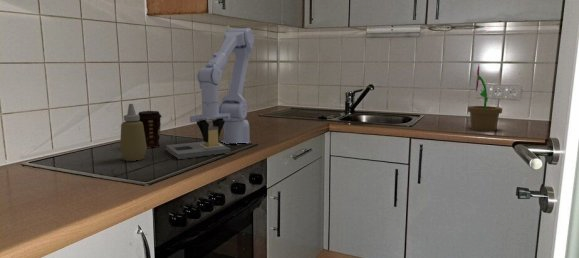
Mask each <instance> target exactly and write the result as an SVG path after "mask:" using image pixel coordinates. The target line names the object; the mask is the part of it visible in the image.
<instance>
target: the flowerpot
mask: <svg viewBox="0 0 579 258" xmlns="http://www.w3.org/2000/svg"><path fill="white" fill-rule="evenodd" d="M475 81H476V84H475V85H476V87H475V91H476V92H478V87H479V81H481V84H482V86H483V90H481V92H480V93H479V95H480V96H481V97H483V98H484V101H483V105H470V106H467V112H469V113H470V114H469V116H470V129H471V130H472V131H476V130H477V131H476V132H495V131H496V129H497V124H498V122H499V121H498V120H499V117H500V114H502V113H503V108H502V107H499V106H490V105H489V106H488V105H487V103H488V93H487V86H486V83H485V80H484V78H482V76H481V75H480V64H478V66H477V70H476V80H475Z"/></svg>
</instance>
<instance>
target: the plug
mask: <svg viewBox="0 0 579 258" xmlns="http://www.w3.org/2000/svg"><path fill="white" fill-rule="evenodd" d="M203 142H204V146H206V147H211V146H218V142H219V141H218V126H214V125H213V124H212V125H209V127H208V142H205V141H204V140H203Z"/></svg>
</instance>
